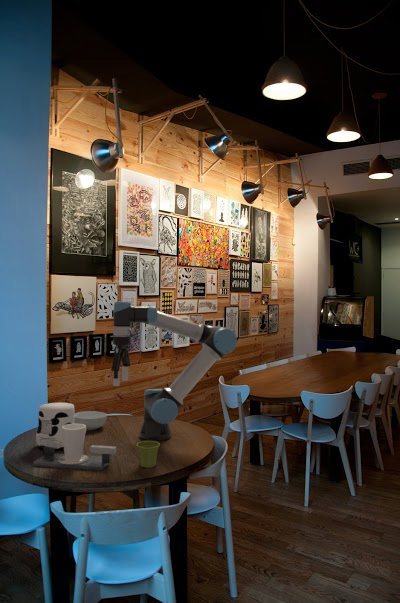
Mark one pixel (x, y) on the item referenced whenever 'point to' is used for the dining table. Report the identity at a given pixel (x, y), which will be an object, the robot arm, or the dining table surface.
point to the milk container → (54, 421)
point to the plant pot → (148, 453)
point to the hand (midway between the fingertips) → (120, 383)
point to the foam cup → (73, 441)
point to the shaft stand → (85, 463)
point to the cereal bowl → (90, 419)
